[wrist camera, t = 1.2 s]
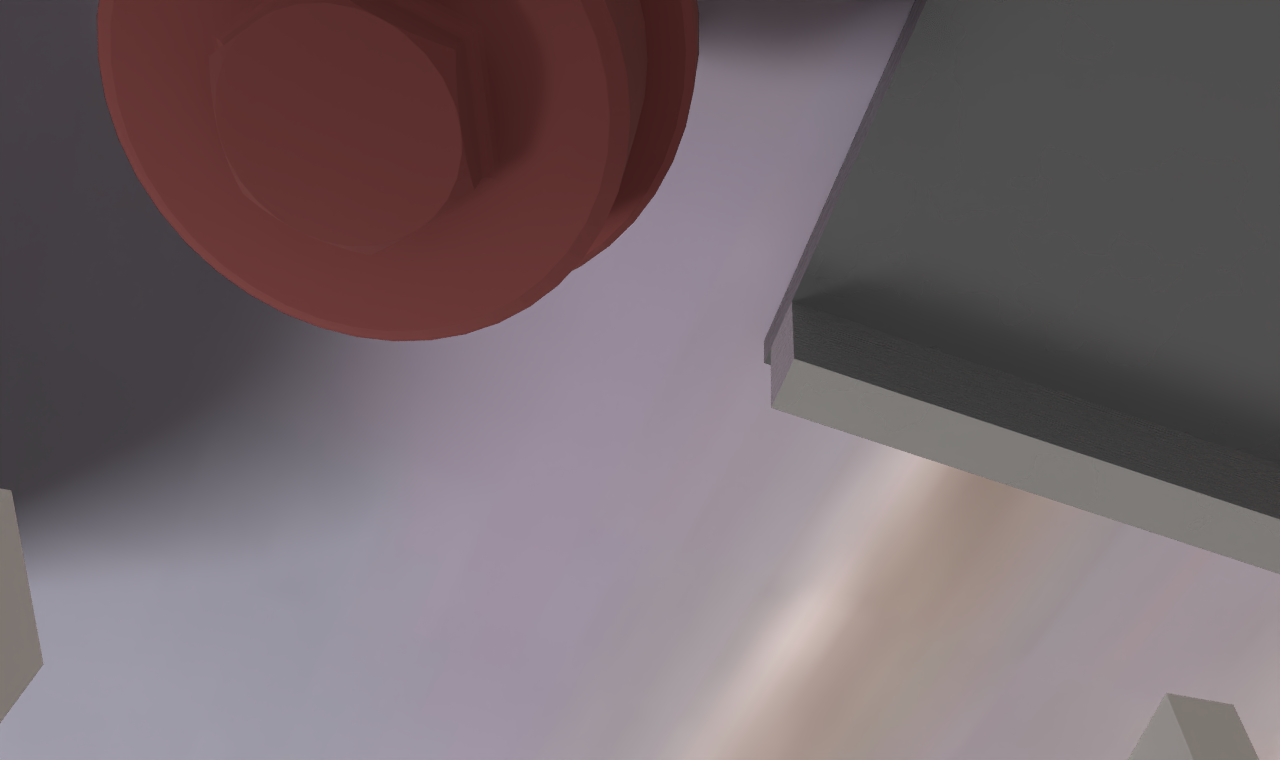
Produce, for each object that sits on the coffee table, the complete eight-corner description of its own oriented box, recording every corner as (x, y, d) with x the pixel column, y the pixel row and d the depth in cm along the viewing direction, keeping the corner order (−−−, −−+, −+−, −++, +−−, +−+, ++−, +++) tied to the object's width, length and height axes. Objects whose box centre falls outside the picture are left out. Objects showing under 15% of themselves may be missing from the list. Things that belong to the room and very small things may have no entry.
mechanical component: (249, 46, 29) (381, -377, 24) (600, 224, 30) (794, -136, 25) (-50, 250, 18) (75, -434, 13) (513, 506, 20) (813, -15, 15)
